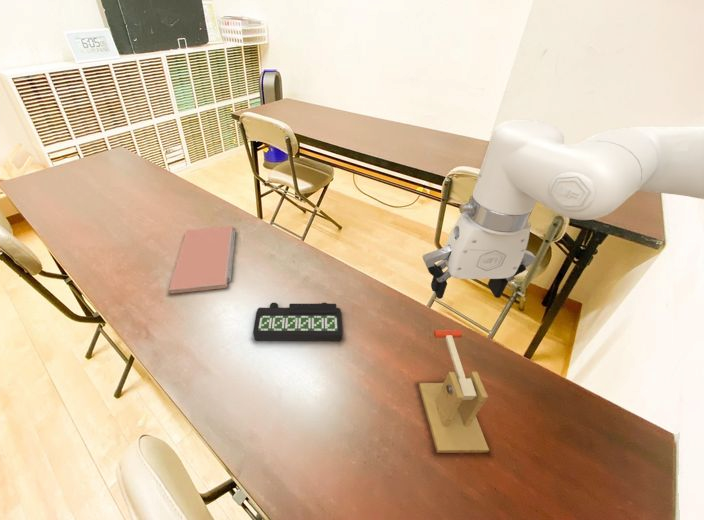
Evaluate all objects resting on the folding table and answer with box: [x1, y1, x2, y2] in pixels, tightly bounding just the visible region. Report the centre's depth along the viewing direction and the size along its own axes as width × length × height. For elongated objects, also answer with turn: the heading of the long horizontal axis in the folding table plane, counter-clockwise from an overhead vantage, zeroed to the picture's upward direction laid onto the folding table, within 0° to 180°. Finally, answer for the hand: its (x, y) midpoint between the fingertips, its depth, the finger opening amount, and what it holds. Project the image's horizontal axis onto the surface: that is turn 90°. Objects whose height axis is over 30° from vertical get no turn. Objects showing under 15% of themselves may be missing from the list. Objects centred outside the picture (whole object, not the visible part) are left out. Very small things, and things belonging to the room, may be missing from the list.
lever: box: [433, 329, 477, 400], centre depth 60 cm, size 12×5×2 cm, turn 0°
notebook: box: [168, 225, 237, 295], centre depth 101 cm, size 27×17×2 cm, turn 6°
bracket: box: [418, 371, 490, 454], centre depth 59 cm, size 12×9×13 cm
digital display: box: [252, 302, 343, 342], centre depth 80 cm, size 21×3×10 cm
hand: (465, 291), depth 56 cm, fingers open, 9 cm apart
